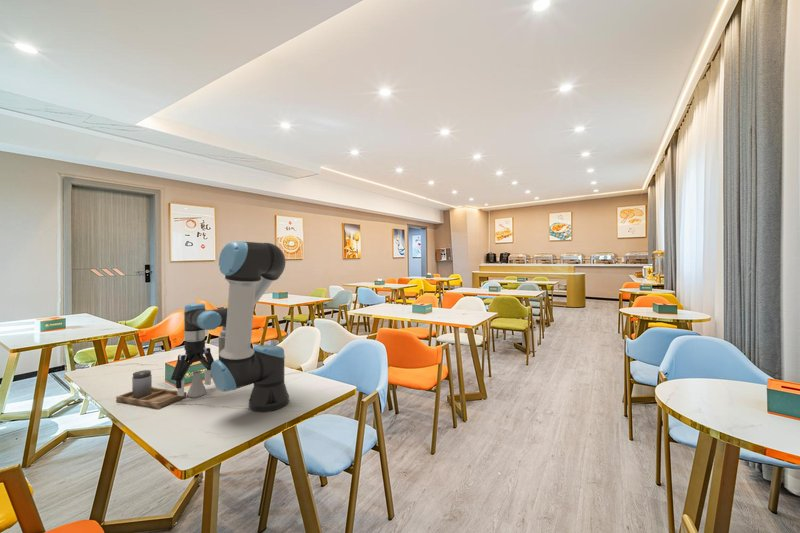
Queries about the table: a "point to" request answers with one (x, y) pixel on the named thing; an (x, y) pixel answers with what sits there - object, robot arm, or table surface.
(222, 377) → the robot arm
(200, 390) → the flask
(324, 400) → the table surface
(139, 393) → the pepper shaker
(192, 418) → the table surface
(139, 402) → the caddy
